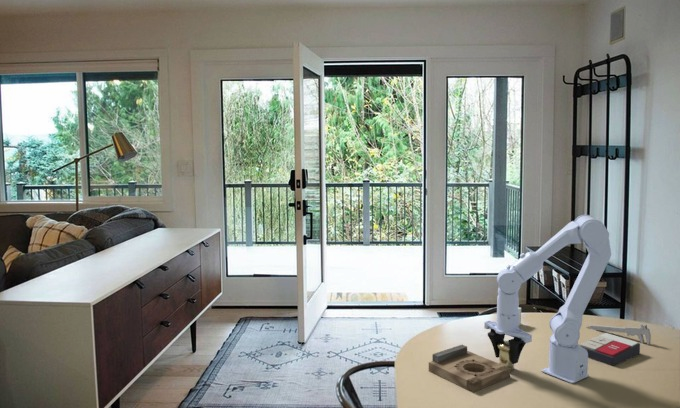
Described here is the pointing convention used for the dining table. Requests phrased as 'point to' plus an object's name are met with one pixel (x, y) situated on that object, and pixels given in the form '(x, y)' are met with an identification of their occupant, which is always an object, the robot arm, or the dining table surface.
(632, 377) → the dining table surface
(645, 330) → the caliper
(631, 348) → the printed card box
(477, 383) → the jig
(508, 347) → the bushing
